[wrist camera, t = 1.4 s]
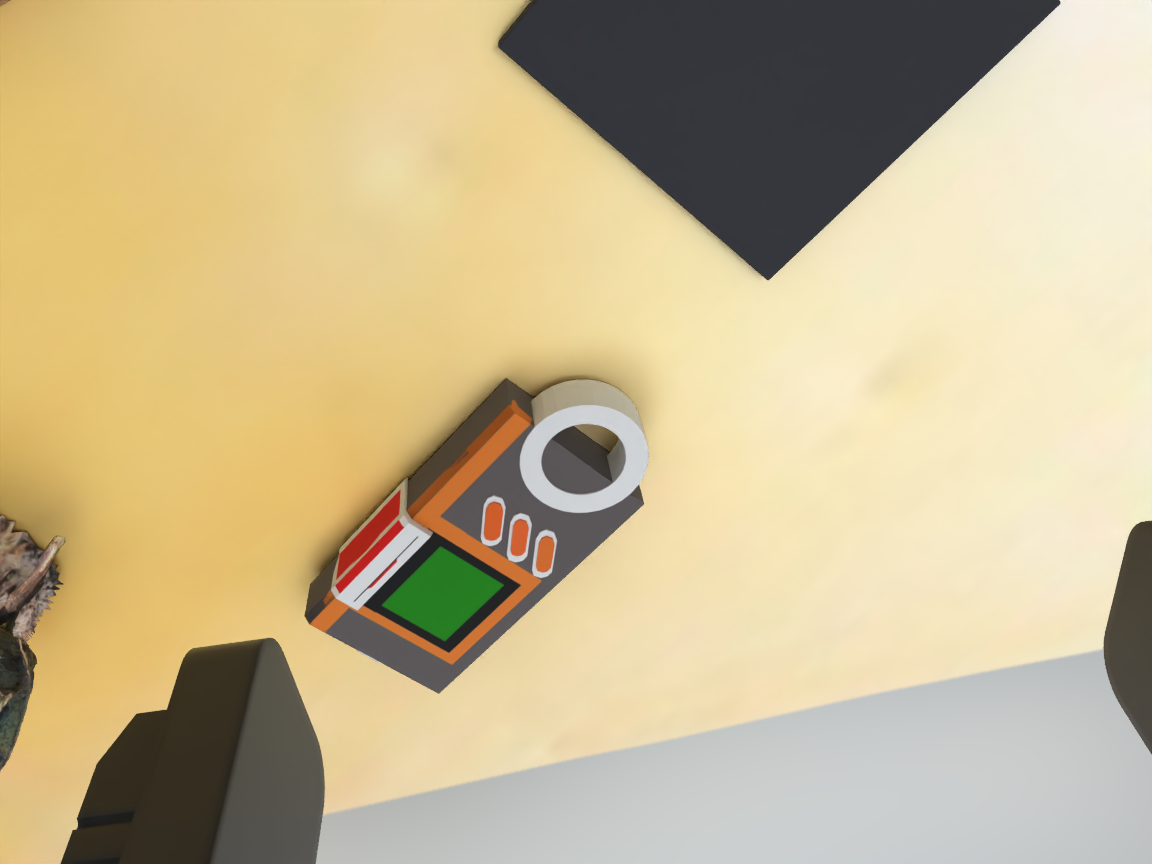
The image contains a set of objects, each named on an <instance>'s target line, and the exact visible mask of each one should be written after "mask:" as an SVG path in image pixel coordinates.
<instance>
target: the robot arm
mask: <svg viewBox="0 0 1152 864" xmlns="http://www.w3.org/2000/svg"><path fill="white" fill-rule="evenodd" d="M1104 659H1105V665H1106V670H1107V674H1108V677H1109V680H1110V684H1111V686H1112V689H1113V691H1114V694H1115V696H1116V698H1117V699H1118V702H1119V703H1120V705H1121V707H1122V708H1123V710H1124V712H1125V713H1126V715H1127V716H1128V718H1129V719H1130V721H1131V723H1132V724H1133V726H1134V727H1135V729H1136V730H1137V732H1138V733H1139V735H1140V737H1141V738H1142V740H1143V741H1144V743H1145V745H1146V746H1147V748H1148V749H1149V751H1150V752H1151V754H1152V521H1145V522H1140V523H1138V524H1137V525H1135V527H1134V528H1133V529H1132V531H1131V532H1130V534H1129V537H1128V540H1127V544H1126V548H1125V552H1124V557H1123V561H1122V565H1121V569H1120V573H1119V577H1118V581H1117V586H1116V590H1115V594H1114V598H1113V602H1112V606H1111V610H1110V614H1109V619H1108V623H1107V627H1106V631H1105V636H1104ZM324 791H325V784H324V769H323V761H322V755H321V750H320V746H319V742H318V739H317V736H316V734H315V731H314V729H313V726H312V724H311V721H310V719H309V716H308V714H307V711H306V709H305V706H304V704H303V701H302V699H301V696H300V693H299V691H298V688H297V686H296V683H295V681H294V678H293V676H292V673H291V671H290V668H289V666H288V663H287V661H286V658H285V656H284V653H283V651H282V649H281V647H280V645H279V644H278V642H277V641H276V640H275V639H273V638H265V639H258V640H251V641H243V642H236V643H229V644H221V645H214V646H207V647H199V648H193V649H191V650H190V651H189V652H188V653H187V654H186V655H185V657H184V659H183V661H182V664H181V667H180V670H179V673H178V676H177V679H176V683H175V686H174V689H173V692H172V695H171V698H170V702H169V705H168V708H167V710H161V711H154V712H146V713H139V714H136V715H135V716H134V718H133V719H132V720H131V722H130V723H129V724H128V725H127V727H126V728H125V729H124V730H123V732H122V733H121V734H120V735H119V737H118V738H117V739H116V740H115V742H114V743H113V744H112V746H111V747H110V748H109V749H108V751H107V752H106V753H105V754H104V756H103V757H102V758H101V759H100V761H99V762H98V763H97V765H96V768H95V771H94V773H93V776H92V779H91V782H90V784H89V787H88V790H87V793H86V795H85V798H84V801H83V804H82V806H81V809H80V812H79V815H78V817H77V820H78V828H77V830H73V831H72V834H71V837H70V840H69V842H68V845H67V848H66V851H65V853H64V856H63V859H62V862H61V864H315V863H316V856H317V849H318V842H319V836H320V829H321V822H322V815H323V807H324Z"/></svg>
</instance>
